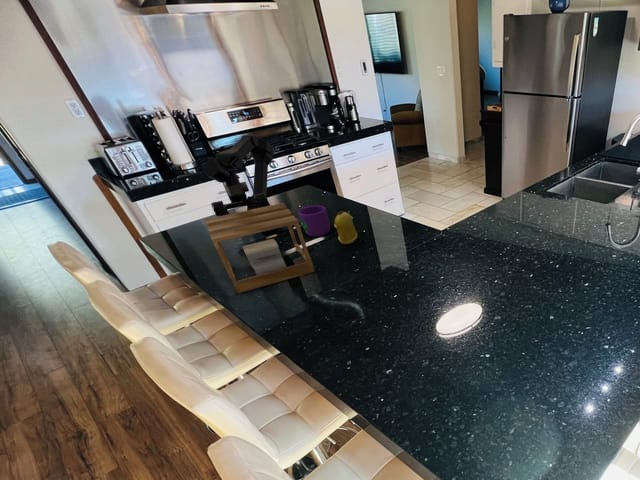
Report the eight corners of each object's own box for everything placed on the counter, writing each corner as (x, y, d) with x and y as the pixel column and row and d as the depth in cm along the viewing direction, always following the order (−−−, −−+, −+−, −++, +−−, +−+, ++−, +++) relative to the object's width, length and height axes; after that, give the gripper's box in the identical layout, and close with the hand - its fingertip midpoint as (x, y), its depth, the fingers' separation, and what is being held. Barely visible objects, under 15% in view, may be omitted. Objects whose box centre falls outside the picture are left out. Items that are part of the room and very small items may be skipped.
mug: (336, 232, 175) (330, 209, 168) (312, 240, 169) (305, 217, 162) (318, 221, 184) (311, 199, 178) (294, 229, 178) (287, 206, 172)
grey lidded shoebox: (281, 258, 157) (273, 238, 152) (291, 274, 147) (283, 254, 141) (250, 266, 152) (242, 246, 147) (259, 283, 142) (249, 262, 137)
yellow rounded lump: (360, 247, 163) (351, 210, 153) (340, 250, 161) (330, 213, 151) (357, 236, 171) (349, 200, 161) (338, 239, 169) (328, 203, 159)
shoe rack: (228, 268, 152) (204, 218, 139) (299, 250, 162) (282, 202, 150) (237, 293, 137) (212, 240, 125) (314, 271, 148) (297, 220, 135)
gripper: (199, 179, 139) (218, 221, 139) (256, 170, 146) (273, 209, 147) (207, 196, 149) (224, 234, 150) (260, 186, 157) (276, 223, 157)
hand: (250, 225), depth 150 cm, fingers open, 9 cm apart
